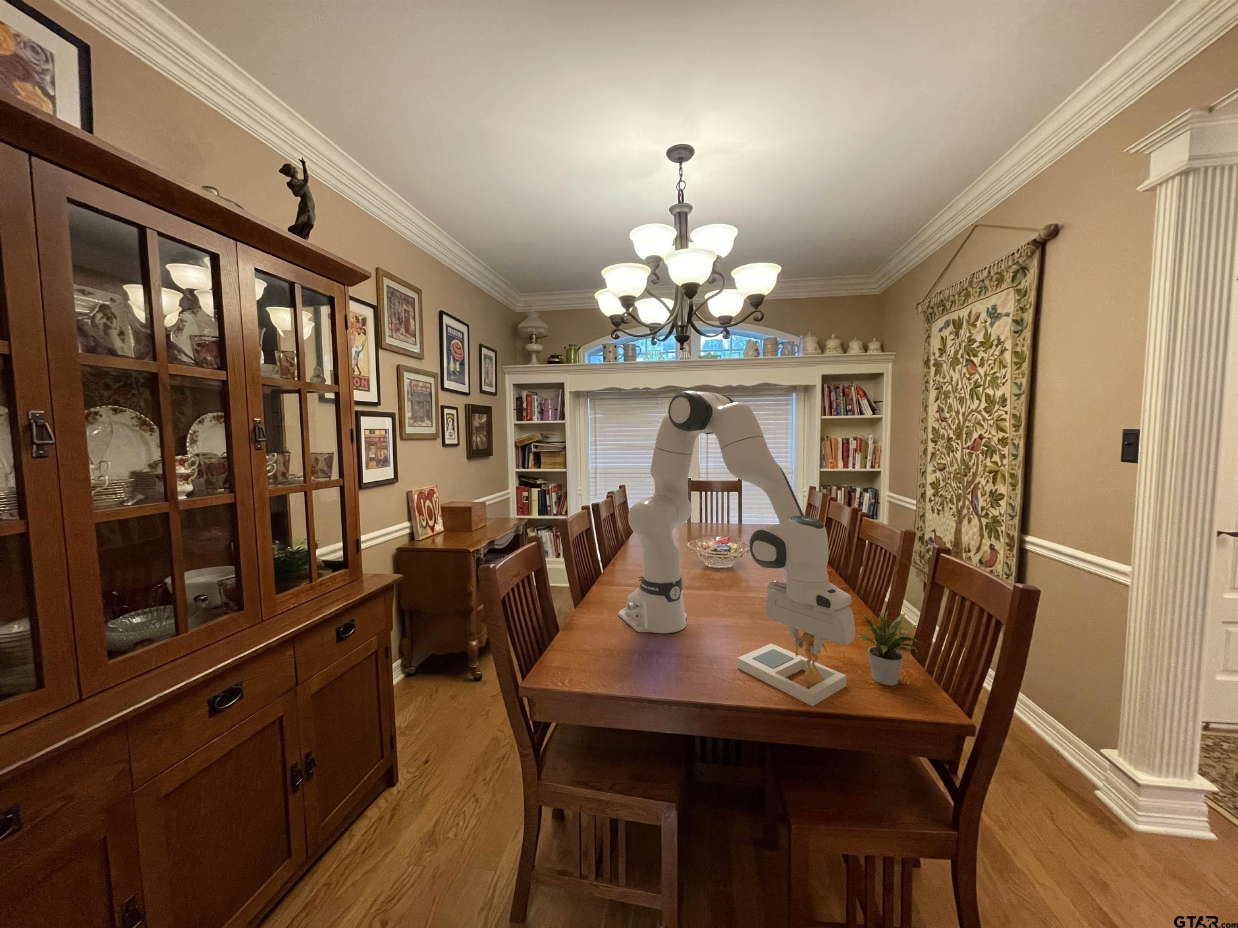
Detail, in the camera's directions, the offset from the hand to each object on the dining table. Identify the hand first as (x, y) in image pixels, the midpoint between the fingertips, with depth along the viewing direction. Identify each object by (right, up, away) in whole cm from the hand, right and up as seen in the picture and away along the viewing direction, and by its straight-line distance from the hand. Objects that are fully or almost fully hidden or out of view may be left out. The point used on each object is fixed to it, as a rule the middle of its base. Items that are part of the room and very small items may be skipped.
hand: (807, 649), depth 105 cm
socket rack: (-3, -8, +4) cm, 9 cm away
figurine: (+1, -8, 0) cm, 8 cm away
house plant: (+17, -8, +2) cm, 19 cm away
